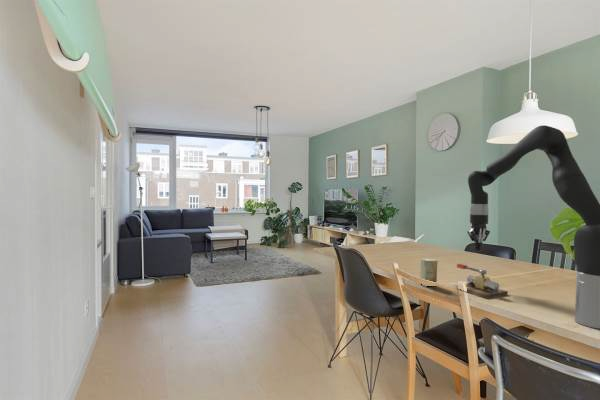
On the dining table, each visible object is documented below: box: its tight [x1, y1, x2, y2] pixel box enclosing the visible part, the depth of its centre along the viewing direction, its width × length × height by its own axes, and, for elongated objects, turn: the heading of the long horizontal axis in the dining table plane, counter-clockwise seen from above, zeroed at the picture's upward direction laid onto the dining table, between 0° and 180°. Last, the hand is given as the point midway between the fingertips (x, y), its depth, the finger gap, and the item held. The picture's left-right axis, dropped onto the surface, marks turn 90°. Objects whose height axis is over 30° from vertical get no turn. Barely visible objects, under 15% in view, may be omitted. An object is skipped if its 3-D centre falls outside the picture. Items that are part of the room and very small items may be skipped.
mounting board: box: [465, 284, 509, 299], centre depth 146 cm, size 14×14×2 cm
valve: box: [466, 274, 500, 294], centre depth 145 cm, size 13×4×7 cm, turn 24°
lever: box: [456, 263, 487, 275], centre depth 150 cm, size 14×3×2 cm, turn 22°
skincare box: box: [419, 258, 439, 288], centre depth 155 cm, size 6×4×12 cm
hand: (478, 250), depth 156 cm, fingers closed
